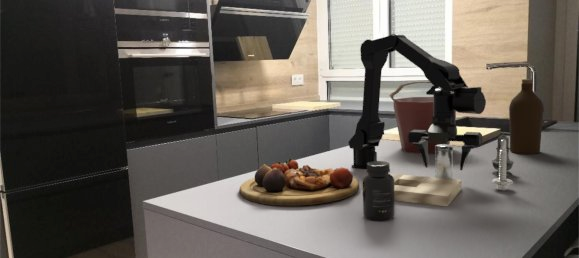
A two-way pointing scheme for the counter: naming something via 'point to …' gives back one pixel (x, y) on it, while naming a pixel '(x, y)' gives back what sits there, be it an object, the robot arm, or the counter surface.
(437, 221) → the counter surface
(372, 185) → the supplement bottle
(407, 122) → the bucket
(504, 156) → the screw
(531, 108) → the olive oil
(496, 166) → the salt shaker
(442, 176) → the grey cylindrical piece
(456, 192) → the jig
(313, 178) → the wooden plate with food
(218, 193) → the counter surface
